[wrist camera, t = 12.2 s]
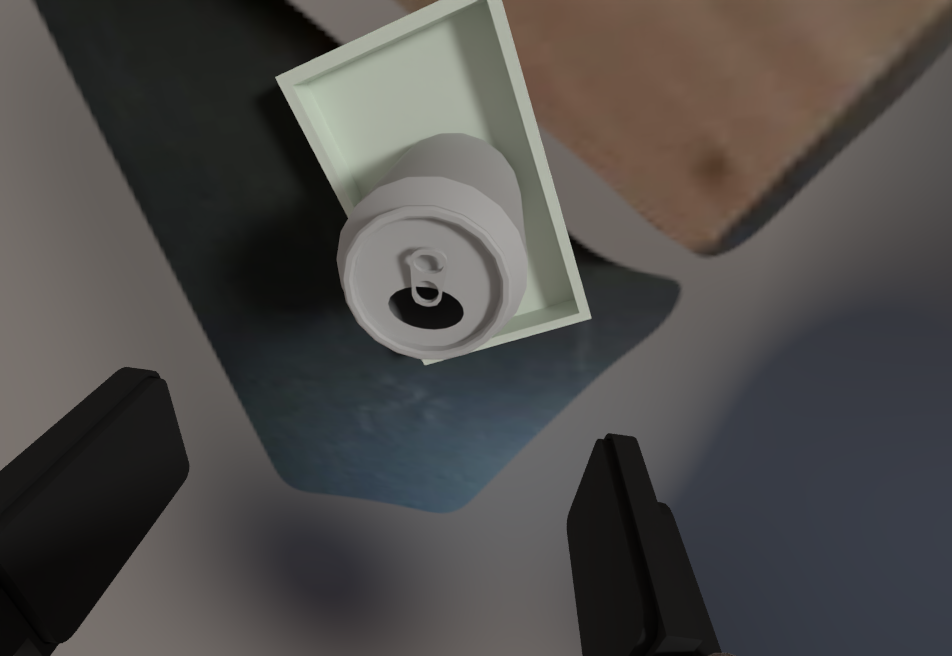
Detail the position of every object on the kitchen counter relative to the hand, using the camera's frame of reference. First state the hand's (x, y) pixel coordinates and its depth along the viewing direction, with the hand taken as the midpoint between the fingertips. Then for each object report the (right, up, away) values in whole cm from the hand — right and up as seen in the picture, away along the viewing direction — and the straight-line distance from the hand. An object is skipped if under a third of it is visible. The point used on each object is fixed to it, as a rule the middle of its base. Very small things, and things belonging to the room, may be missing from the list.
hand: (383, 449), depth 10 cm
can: (+1, +10, +17) cm, 20 cm away
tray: (+1, +10, +17) cm, 20 cm away
